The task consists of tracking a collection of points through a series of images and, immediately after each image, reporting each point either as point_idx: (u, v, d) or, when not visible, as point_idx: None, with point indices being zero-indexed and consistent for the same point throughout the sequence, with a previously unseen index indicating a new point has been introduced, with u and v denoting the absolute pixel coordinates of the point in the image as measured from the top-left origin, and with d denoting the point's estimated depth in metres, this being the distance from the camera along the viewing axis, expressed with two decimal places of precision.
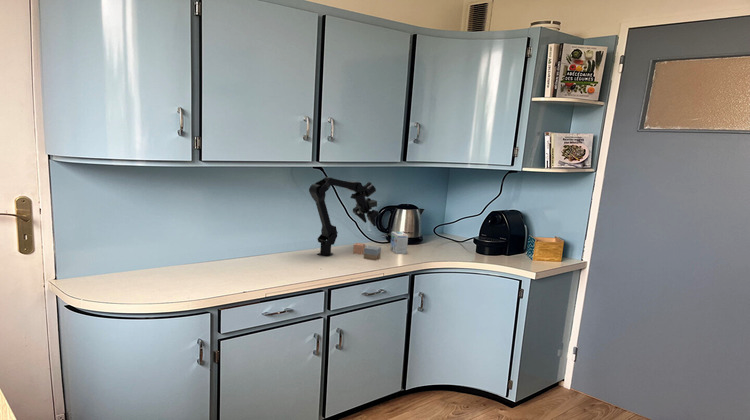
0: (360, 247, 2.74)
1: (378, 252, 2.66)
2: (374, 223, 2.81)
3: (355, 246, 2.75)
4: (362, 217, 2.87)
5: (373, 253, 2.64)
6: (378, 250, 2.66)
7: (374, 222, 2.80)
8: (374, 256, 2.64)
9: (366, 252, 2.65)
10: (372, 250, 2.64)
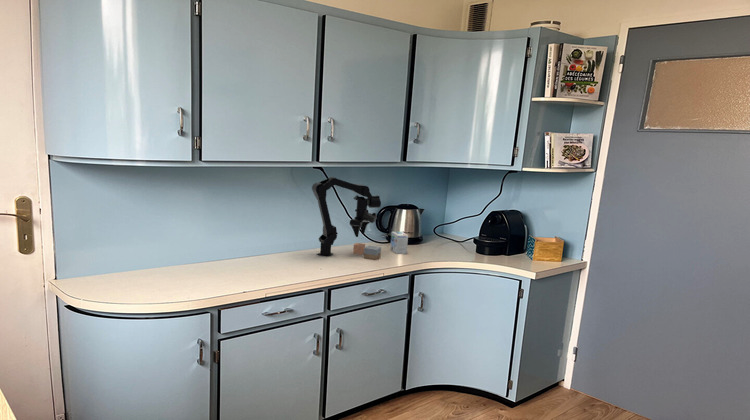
0: (360, 247, 2.74)
1: (378, 252, 2.66)
2: (356, 233, 2.70)
3: (355, 246, 2.75)
4: (361, 227, 2.80)
5: (373, 253, 2.64)
6: (378, 250, 2.66)
7: (356, 232, 2.70)
8: (374, 256, 2.64)
9: (366, 252, 2.65)
10: (372, 250, 2.64)
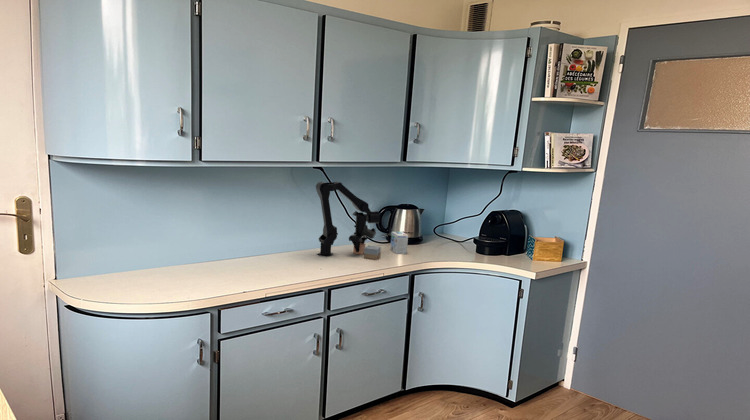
0: (360, 247, 2.74)
1: (378, 252, 2.67)
2: (356, 248, 2.73)
3: None
4: None
5: (373, 253, 2.64)
6: (378, 250, 2.66)
7: (357, 247, 2.73)
8: (374, 256, 2.64)
9: (366, 252, 2.65)
10: (372, 250, 2.64)
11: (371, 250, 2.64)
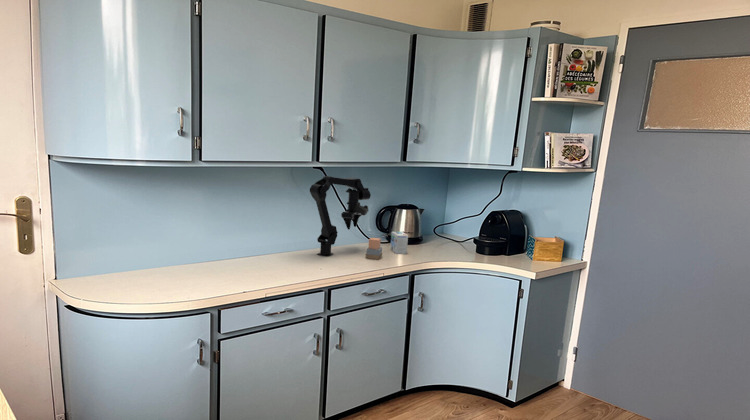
0: (376, 242, 2.64)
1: (380, 252, 2.67)
2: (348, 225, 2.74)
3: (370, 241, 2.65)
4: (353, 219, 2.83)
5: (376, 253, 2.64)
6: (380, 250, 2.67)
7: (348, 224, 2.73)
8: (376, 256, 2.64)
9: (368, 253, 2.65)
10: (375, 250, 2.64)
11: (373, 251, 2.64)
